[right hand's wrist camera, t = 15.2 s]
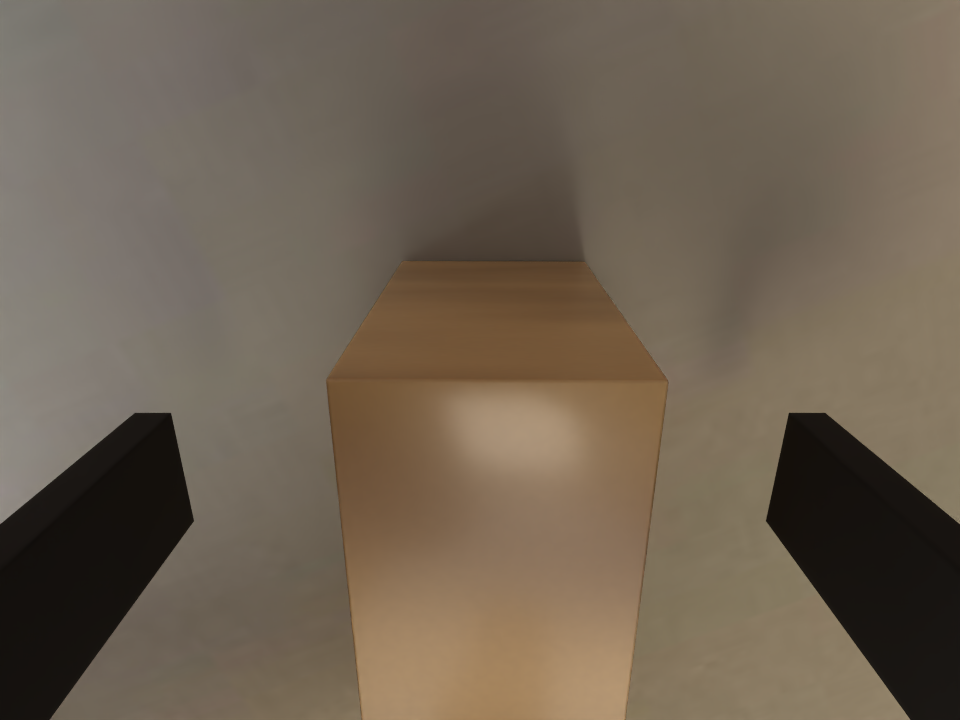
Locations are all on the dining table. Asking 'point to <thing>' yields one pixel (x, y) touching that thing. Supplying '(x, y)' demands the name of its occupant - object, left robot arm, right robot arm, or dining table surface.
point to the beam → (495, 492)
